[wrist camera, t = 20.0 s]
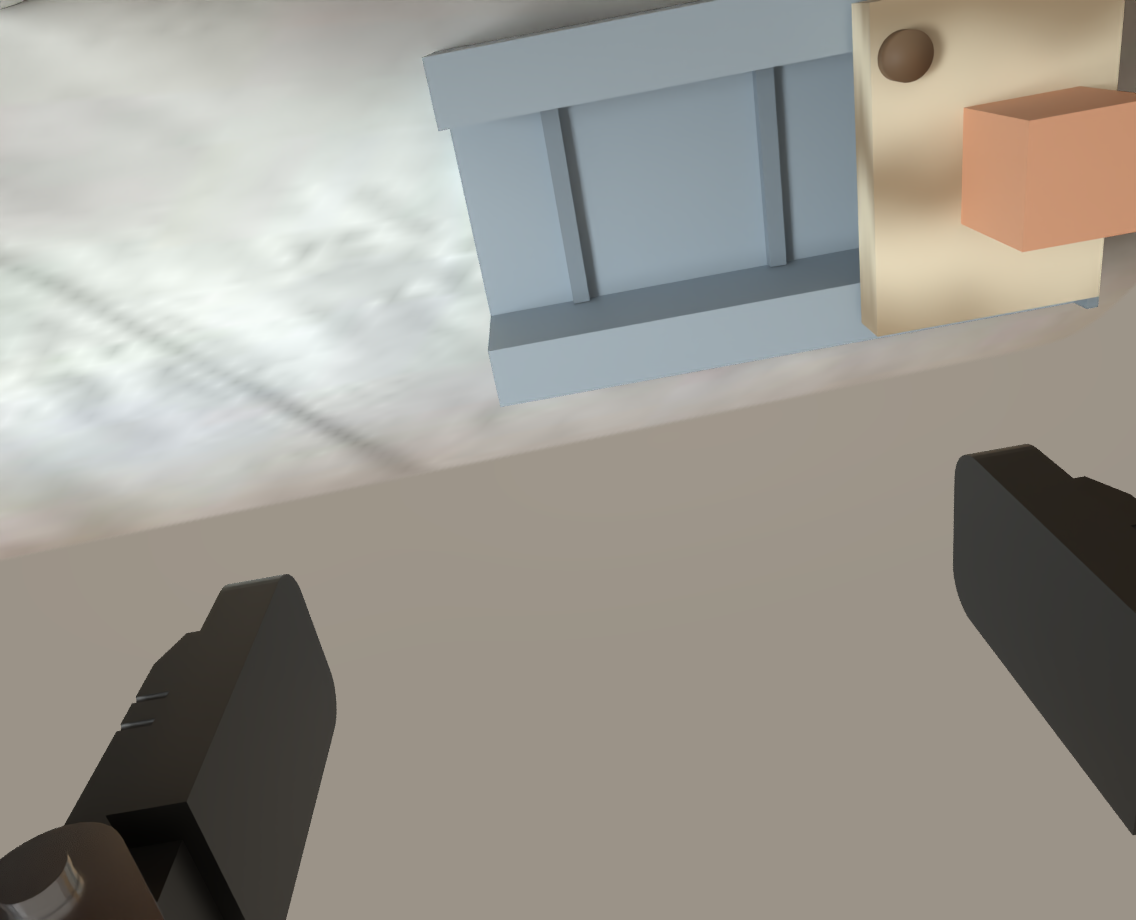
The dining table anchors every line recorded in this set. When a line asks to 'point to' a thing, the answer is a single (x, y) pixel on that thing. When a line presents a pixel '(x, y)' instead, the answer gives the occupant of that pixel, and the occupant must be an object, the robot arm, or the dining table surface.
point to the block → (1050, 167)
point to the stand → (660, 191)
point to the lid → (960, 150)
